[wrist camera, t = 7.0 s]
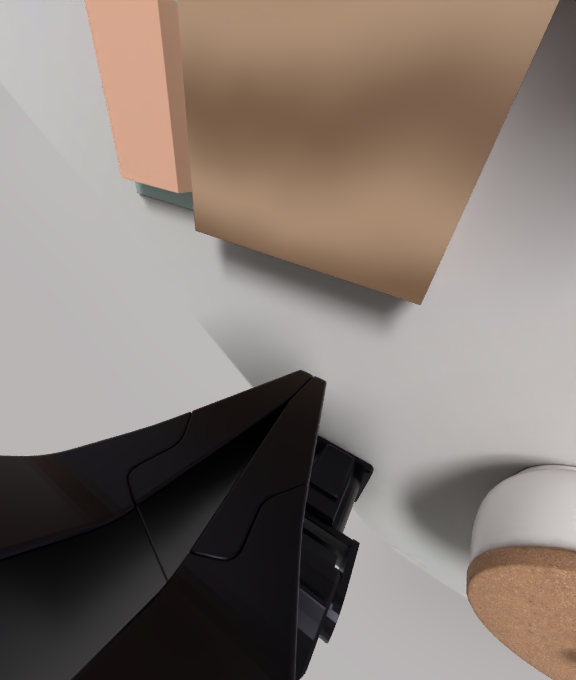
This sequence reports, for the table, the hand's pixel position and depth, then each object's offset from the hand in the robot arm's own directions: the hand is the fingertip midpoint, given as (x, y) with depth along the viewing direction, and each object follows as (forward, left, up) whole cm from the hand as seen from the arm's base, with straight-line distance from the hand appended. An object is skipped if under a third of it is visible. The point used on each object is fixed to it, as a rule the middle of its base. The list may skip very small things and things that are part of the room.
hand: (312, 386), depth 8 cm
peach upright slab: (+6, +18, -9) cm, 21 cm away
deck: (+6, +5, -12) cm, 14 cm away
